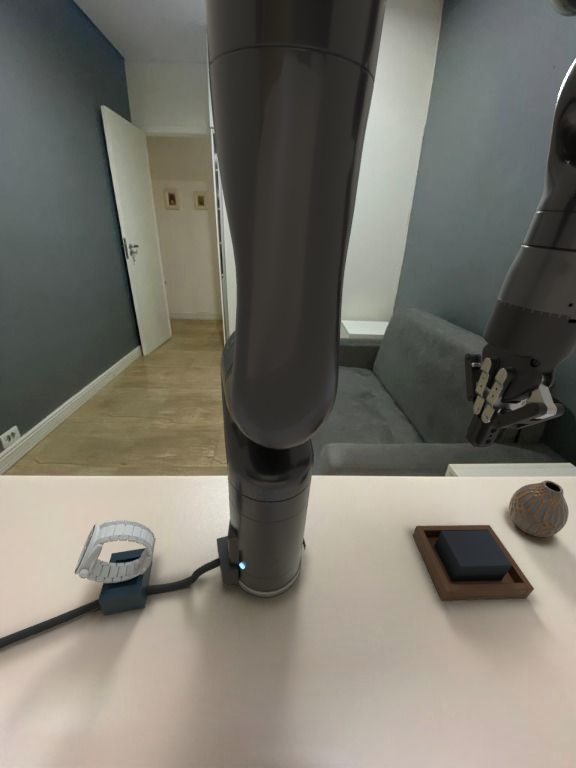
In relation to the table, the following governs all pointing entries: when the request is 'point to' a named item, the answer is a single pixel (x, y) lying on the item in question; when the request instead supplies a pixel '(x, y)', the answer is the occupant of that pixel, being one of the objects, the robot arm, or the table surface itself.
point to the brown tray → (458, 590)
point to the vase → (539, 509)
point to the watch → (118, 565)
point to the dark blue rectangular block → (472, 556)
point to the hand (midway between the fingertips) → (476, 443)
